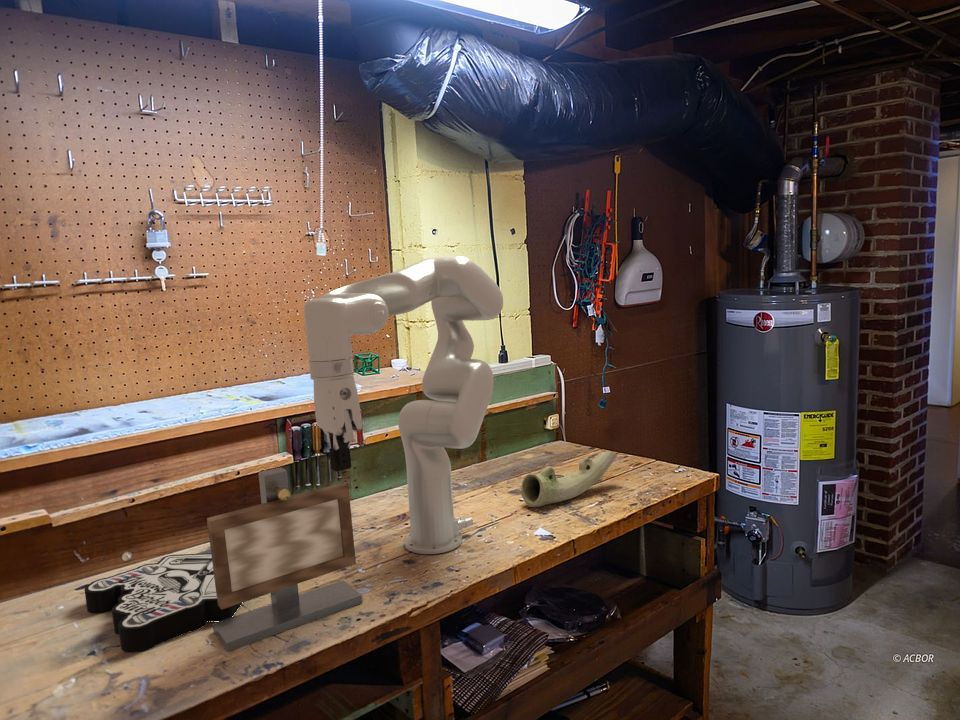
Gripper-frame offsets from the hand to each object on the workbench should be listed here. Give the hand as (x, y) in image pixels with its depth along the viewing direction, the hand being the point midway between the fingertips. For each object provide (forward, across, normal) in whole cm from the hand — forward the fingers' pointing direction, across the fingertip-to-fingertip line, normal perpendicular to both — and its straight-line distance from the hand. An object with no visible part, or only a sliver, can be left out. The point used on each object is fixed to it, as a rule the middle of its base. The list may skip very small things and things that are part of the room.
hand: (341, 468), depth 123 cm
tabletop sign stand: (+24, +1, +12) cm, 27 cm away
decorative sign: (+25, +21, +24) cm, 40 cm away
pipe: (+26, +12, -66) cm, 72 cm away
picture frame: (+18, 0, +12) cm, 21 cm away
